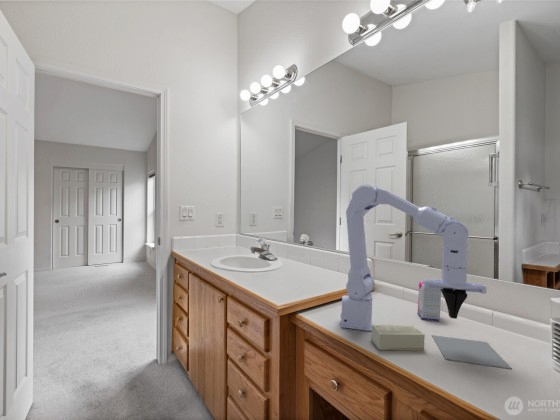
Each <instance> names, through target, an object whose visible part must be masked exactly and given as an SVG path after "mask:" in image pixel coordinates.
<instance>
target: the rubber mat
mask: <svg viewBox="0 0 560 420" xmlns="http://www.w3.org/2000/svg"><path fill="white" fill-rule="evenodd" d="M431 337H432V338H433V340H434V342H435V344H436V346H437V347H438V350H440V353H441V354H442V356H443V357H444V359H445V361H454V362H461V363H467V364H473V365H474V364H475V365H479V366H487V367H495V368H501V369H506V370H507V369H508V370H513V368H512V367H511V365H510V364H508V362H506V361H505V359H503V357H502V356H501V355H500V354H499V353H498V352H497V351H496V350H495V349H494V348H493V347H492V346H491V345H490V344H489V343H488V342H487V341H479V340H473V339H465V338H457V337H449V336H441V335H436V334H435V335H433V334H432V335H431Z"/></svg>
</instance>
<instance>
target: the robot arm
mask: <svg viewBox="0 0 560 420" xmlns="http://www.w3.org/2000/svg"><path fill="white" fill-rule="evenodd" d="M379 205H388V206H391V207H392V208H396V209H397V210H399V211H401V212H403V213H405V214H408V215H409V216H411V217H413V218H414V219H415V223H416V225H418V226H420V227H422V228H424V229H425V230H428V231H430V233H434V234H435V235H437V236H439V235H440V236H441V237H442V238H443V248H442V254H441V255H442V257H441V259H442V260H441V261H442V263H441V279H423V281H422V282H423V287H424V288H435V289H441V295H442V296H443V298H444V301H445V304H446V307H447V312H448V317H449V318H451V319H456V320H457V319H458V316H459V312H460V309H461V307H462V306H463V303H465V301H466V300H467V297H468V293H467V292H470V293H471V292H472V293H480V294H485V295H486V294H487V285H484V284H483V283H482V284H481V283H472V282H467V279H468V277H467V275H468V251H469V250H468V249H467V248H468V243H467V240H468V238H469V235H470V233H469V229H468V227H467V225H466V224H464V223H463V222H461V221H460V220H455V217H453V216H452V215H450V216H448V215H445V214H444V213H442V212H440V211H438V208H437V207H435V206H431V207H430V206H428V205H427V206H422V207H420V206H417V204H414V203H412V202H410V201H409V200H406V199H405V198H403V197H401V196H400V195H397V194H396V193H394V192H393V191H388V190H387V189H383V188H380V187H378V186H374V185H370V184H366V183H364V184H361V185H360V186H358V187H357V188H355V190H354V191H353V192H352V193H351V199H350V201H349V204H348V206H347V207H346V211H345V215H346V224H347V225H346V226H347V239H348V250H349V251H348V252H349V261H350V263H349V264H350V268H349V271H348V274H347V276H348V278H347V282H346V287H345V288H346V293H347V295H345V294H344V295H342V297H341V298H342V299H341V313H340V320H341V323H340V324H341V325H340V327H341V328H343V329H344V328H345V329H351V330H352V329H353V330H360V331H367V332H371V331H372V325H374V324H373V323H374V322H373V320H372V319H373V317H372V315H373V295H372V291H373V290H374V289H375V286H376V285H375V284H376V283H375V280H374V278H373V276H372V273H371V271H372V270H371V268H370V267H369V265H368V256H367V255H368V254H367V244H366V232H365V222H364V221H365V220H364V216H366V214H367V213H368V212H369V211H370V210H371V209H373V208H375V207H377V206H379Z"/></svg>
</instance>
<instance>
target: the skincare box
mask: <svg viewBox="0 0 560 420" xmlns="http://www.w3.org/2000/svg"><path fill="white" fill-rule="evenodd" d="M370 332H371V334H370V335H371V336H370V337H371V339H370V340H371V342H372V343H373V344H374V346H375V347H376V348H377V349H378V350H379V351H425V339H426V338H425V333H424V332H422V331H421V330H420V329H419V328H417V327H416V326H415V325H414V324H413V325H410V324H406V325H403V324H402V325H401V324H400V325H399V324H398V325H395V324H393V325H392V324H390V325H389V324H373V325H372V331H370Z"/></svg>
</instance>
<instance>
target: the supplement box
mask: <svg viewBox="0 0 560 420" xmlns="http://www.w3.org/2000/svg"><path fill="white" fill-rule="evenodd" d="M417 297H418V300H417V315H418V316H419V318H420V319H421V320H423V321H432V320H433V321H432V322H441V307H442V306H441V303H442V302H441V301H442V292H441V289H435V288H424V287H423V281H419V282H418V296H417Z"/></svg>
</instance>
